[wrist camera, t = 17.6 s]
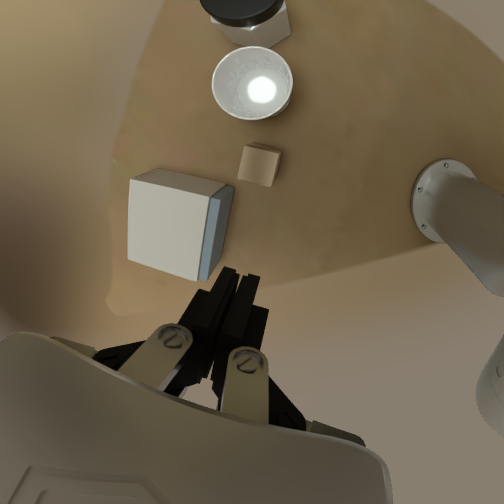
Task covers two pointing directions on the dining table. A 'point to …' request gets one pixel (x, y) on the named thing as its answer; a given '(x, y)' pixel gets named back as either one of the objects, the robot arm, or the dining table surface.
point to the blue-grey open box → (215, 231)
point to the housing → (169, 220)
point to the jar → (250, 20)
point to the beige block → (259, 164)
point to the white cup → (252, 83)
